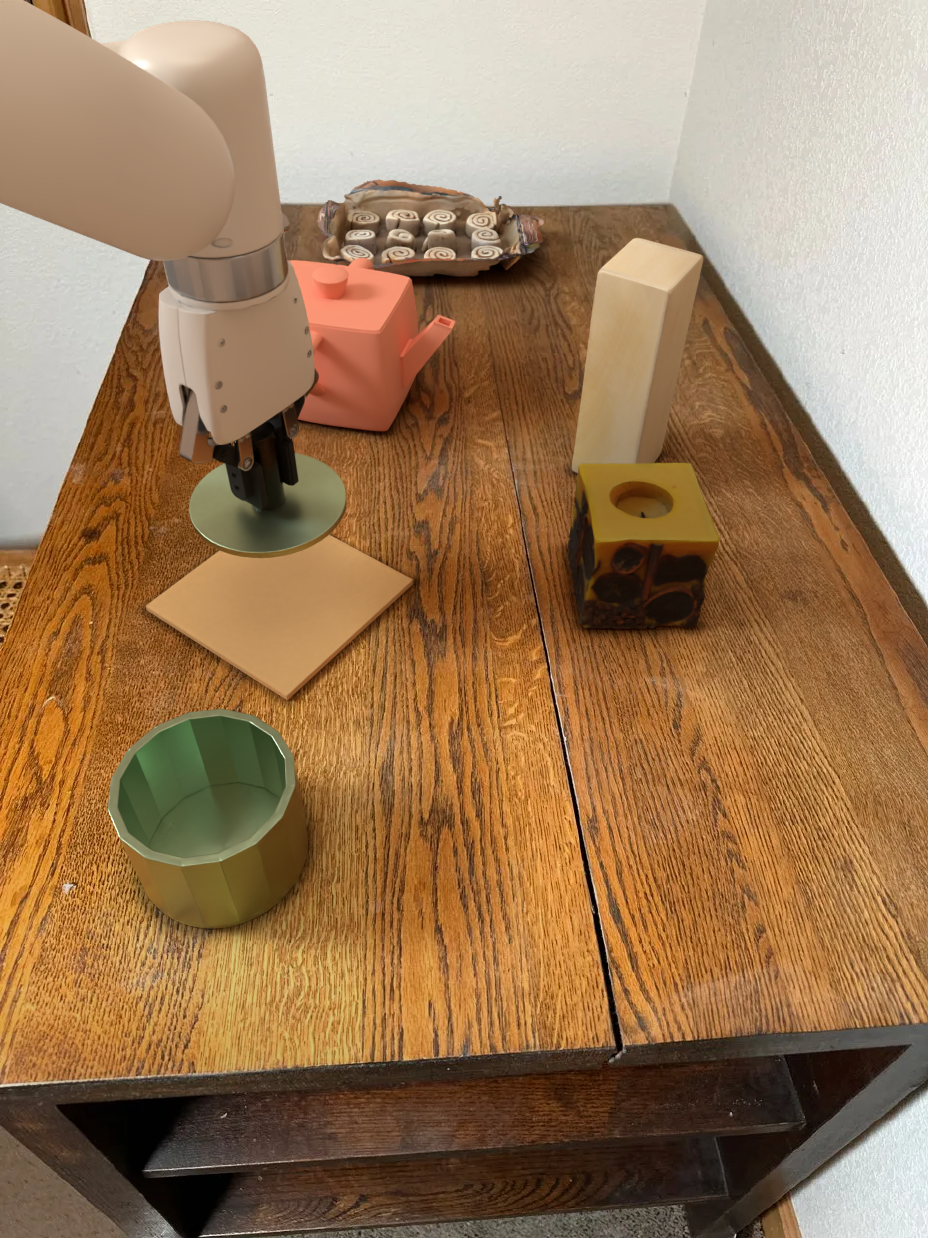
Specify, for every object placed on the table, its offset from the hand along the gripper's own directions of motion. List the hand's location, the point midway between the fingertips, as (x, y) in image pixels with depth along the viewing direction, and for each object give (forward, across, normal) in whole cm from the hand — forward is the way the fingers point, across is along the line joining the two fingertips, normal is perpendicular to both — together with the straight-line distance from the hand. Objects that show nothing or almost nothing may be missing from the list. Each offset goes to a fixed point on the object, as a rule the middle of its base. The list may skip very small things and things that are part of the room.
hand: (265, 487), depth 71 cm
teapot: (+12, -27, -14) cm, 32 cm away
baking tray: (+13, -58, -28) cm, 66 cm away
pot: (+12, +20, +13) cm, 27 cm away
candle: (+12, -19, +23) cm, 32 cm away
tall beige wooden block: (+12, -34, +13) cm, 38 cm away
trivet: (+12, 0, 0) cm, 12 cm away
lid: (+2, 0, 0) cm, 2 cm away
